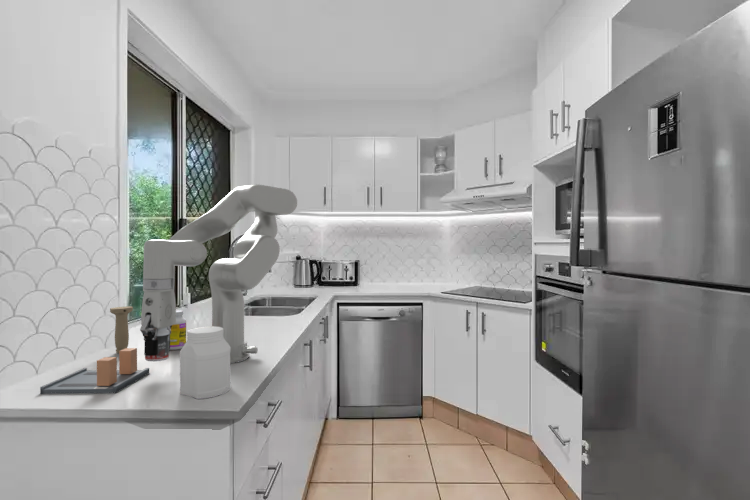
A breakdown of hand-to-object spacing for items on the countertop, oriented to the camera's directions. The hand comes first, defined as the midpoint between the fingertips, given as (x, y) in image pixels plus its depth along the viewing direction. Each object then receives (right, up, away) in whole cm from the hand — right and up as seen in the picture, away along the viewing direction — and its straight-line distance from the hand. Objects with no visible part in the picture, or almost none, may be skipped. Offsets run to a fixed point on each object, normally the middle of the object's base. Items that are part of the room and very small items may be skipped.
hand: (157, 351), depth 110 cm
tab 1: (-8, -6, -9) cm, 13 cm away
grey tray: (-13, -7, -4) cm, 15 cm away
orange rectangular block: (-8, -6, 0) cm, 10 cm away
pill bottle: (0, -2, 0) cm, 2 cm away
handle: (-26, -7, +26) cm, 37 cm away
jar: (+17, -7, -10) cm, 21 cm away
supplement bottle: (-11, -7, +32) cm, 34 cm away
